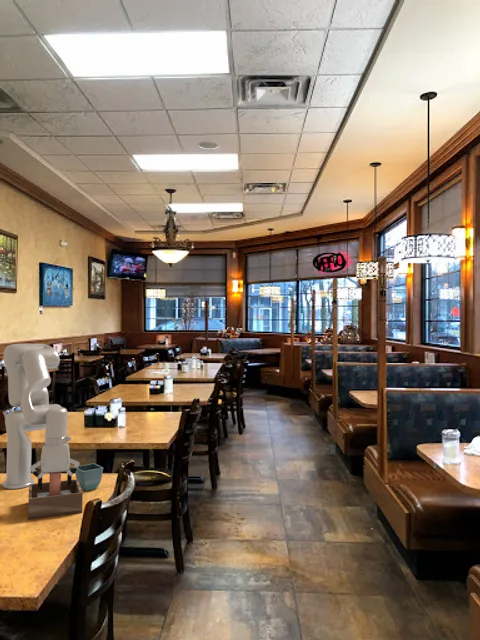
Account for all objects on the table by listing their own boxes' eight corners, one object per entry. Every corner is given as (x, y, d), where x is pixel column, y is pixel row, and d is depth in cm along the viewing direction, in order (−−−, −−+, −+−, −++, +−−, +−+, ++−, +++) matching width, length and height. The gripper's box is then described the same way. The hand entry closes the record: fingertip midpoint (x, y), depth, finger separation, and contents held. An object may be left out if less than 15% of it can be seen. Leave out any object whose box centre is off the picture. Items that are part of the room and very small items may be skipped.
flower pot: (82, 493, 198) (83, 471, 198) (73, 488, 204) (74, 466, 205) (103, 489, 204) (103, 467, 204) (93, 484, 210) (94, 463, 210)
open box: (28, 502, 187) (28, 484, 187) (77, 496, 194) (78, 479, 194) (28, 519, 170) (28, 499, 170) (82, 512, 177) (82, 493, 177)
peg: (48, 503, 183) (49, 471, 183) (60, 502, 185) (60, 470, 185) (49, 507, 179) (49, 474, 180) (60, 505, 181) (61, 473, 181)
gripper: (79, 437, 189) (78, 481, 189) (30, 440, 183) (29, 486, 182) (81, 441, 183) (79, 487, 182) (30, 445, 176) (29, 492, 175)
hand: (54, 487), depth 182 cm, fingers open, 9 cm apart
